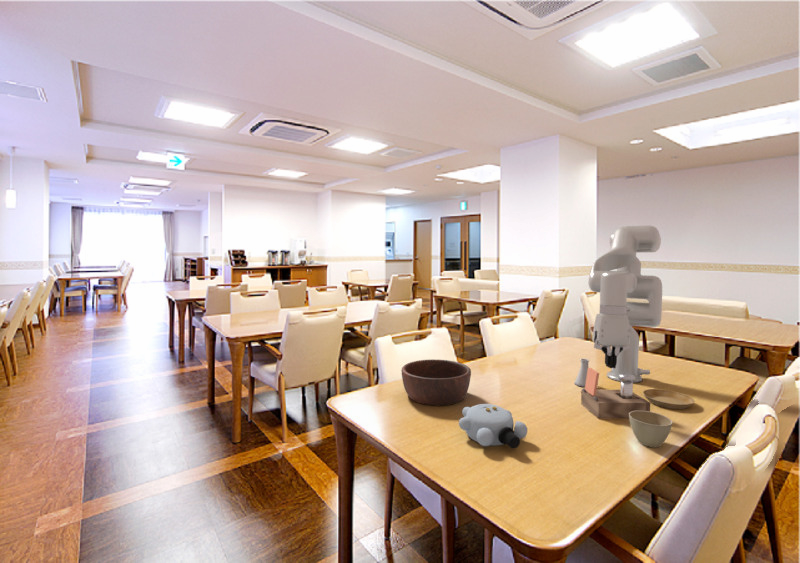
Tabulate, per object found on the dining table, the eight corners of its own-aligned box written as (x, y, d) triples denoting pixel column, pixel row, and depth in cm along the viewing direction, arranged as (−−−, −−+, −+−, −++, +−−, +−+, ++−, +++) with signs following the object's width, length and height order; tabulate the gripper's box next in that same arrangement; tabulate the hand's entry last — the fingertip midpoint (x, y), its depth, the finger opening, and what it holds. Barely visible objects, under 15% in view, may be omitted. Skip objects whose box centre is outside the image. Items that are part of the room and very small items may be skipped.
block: (628, 403, 136) (628, 386, 136) (649, 418, 124) (650, 399, 124) (579, 403, 136) (580, 386, 136) (596, 418, 124) (597, 399, 124)
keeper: (584, 389, 133) (587, 389, 133) (593, 395, 127) (595, 396, 127) (588, 367, 132) (590, 367, 132) (596, 372, 126) (599, 373, 126)
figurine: (446, 426, 118) (485, 466, 100) (448, 400, 116) (488, 435, 98) (495, 417, 125) (540, 453, 106) (497, 391, 123) (543, 423, 105)
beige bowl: (672, 456, 101) (673, 428, 101) (627, 446, 107) (628, 420, 106) (670, 440, 110) (671, 415, 109) (628, 431, 115) (629, 407, 114)
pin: (629, 407, 132) (629, 373, 132) (637, 412, 128) (638, 377, 127) (615, 407, 132) (616, 373, 132) (623, 412, 128) (623, 377, 127)
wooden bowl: (484, 395, 145) (484, 367, 144) (442, 415, 127) (442, 384, 126) (430, 380, 162) (430, 355, 161) (387, 396, 144) (387, 368, 143)
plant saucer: (659, 393, 147) (659, 386, 147) (703, 407, 133) (704, 399, 133) (633, 399, 141) (633, 392, 140) (677, 415, 127) (677, 407, 127)
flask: (596, 388, 152) (597, 362, 151) (576, 387, 153) (577, 361, 152) (591, 382, 159) (592, 357, 158) (572, 381, 160) (572, 356, 159)
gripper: (629, 309, 131) (627, 364, 132) (584, 308, 131) (582, 363, 132) (643, 312, 124) (640, 370, 125) (594, 311, 124) (592, 370, 125)
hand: (610, 366), depth 129 cm, fingers closed
